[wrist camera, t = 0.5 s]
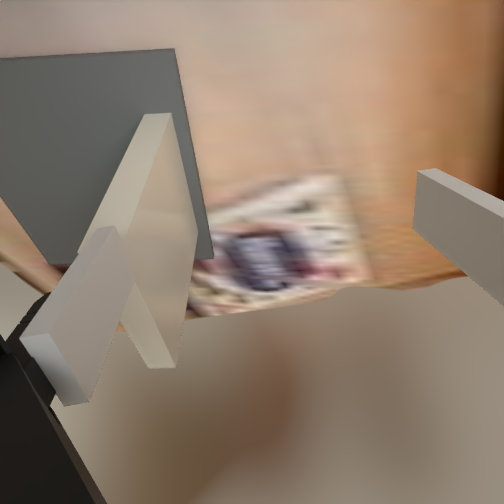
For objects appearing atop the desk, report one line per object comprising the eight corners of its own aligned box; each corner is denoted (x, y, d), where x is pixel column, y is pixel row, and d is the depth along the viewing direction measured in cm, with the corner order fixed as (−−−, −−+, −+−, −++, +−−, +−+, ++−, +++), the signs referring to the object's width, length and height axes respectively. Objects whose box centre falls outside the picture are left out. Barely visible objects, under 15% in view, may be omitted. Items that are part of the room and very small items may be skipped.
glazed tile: (140, 114, 25) (70, 252, 16) (171, 112, 25) (120, 250, 15) (175, 232, 34) (144, 368, 24) (198, 232, 34) (176, 367, 24)
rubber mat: (-88, 63, 23) (-94, 66, 23) (174, 48, 23) (172, 51, 22) (51, 260, 38) (49, 264, 37) (214, 254, 37) (213, 258, 37)
